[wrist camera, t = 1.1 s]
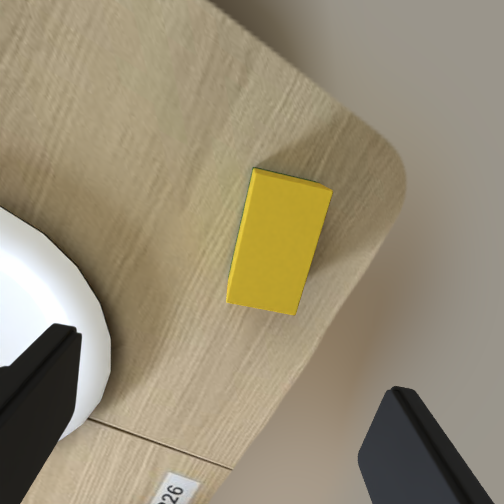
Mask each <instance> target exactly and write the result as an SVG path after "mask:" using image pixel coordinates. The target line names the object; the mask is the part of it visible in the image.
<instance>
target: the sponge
mask: <svg viewBox="0 0 504 504" xmlns="http://www.w3.org/2000/svg"><path fill="white" fill-rule="evenodd" d="M332 194H333V191H332V190H331V189H329V188H327V187H325V186H323V185H322V184H320V183H318V182H315V181H311V180H307V179H302V178H298V177H294V176H290V175H285V174H281V173H277V172H273V171H268V170H264V169H260V168H256V167H253V169H252V174H251V178H250V182H249V187H248V191H247V196H246V200H245V205H244V209H243V214H242V218H241V222H240V227H239V231H238V236H237V240H236V245H235V249H234V254H233V258H232V262H231V267H230V271H229V276H228V287H227V298H226V302H227V303H232V304H237V305H242V306H248V307H253V308H258V309H263V310H269V311H274V312H279V313H284V314H290V315H296V312H297V309H298V305H299V302H300V299H301V296H302V292H303V289H304V286H305V282H306V279H307V276H308V273H309V269H310V266H311V263H312V259H313V256H314V253H315V250H316V246H317V243H318V240H319V237H320V233H321V230H322V227H323V223H324V220H325V217H326V214H327V210H328V207H329V204H330V200H331V197H332Z"/></svg>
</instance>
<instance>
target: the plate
mask: <svg viewBox="0 0 504 504" xmlns="http://www.w3.org/2000/svg"><path fill="white" fill-rule="evenodd" d="M53 323H58V324H64V325H69V326H74V327H76V329H77V332H78V333H81V334H82V344H81V355H80V365H79V375H78V386H77V396H76V406H75V411H74V414H73V416H72V419H71V421H70V422H69V424H68V426H67V427H66V429H65V431H64V432H63V434H62V436H61V437H60V439H59V440H58V441H60V440H61V439H62V438H64V437H65V436H67V435H68V434H70V433H71V432H72V431H74V430H75V429H77V428H78V427H80V426H81V425H82V424H83V423H84V422H85V420H86V419H87V418H88V417H89V415H90V414H91V413H92V411H93V410H94V409H95V407H96V406H97V405H98V404H99V402H100V401H101V399H102V396H103V393H104V390H105V387H106V384H107V381H108V378H109V375H110V372H111V335H110V331H109V328H108V325H107V322H106V319H105V315H104V312H103V309H102V306H101V302H100V300H99V299H98V297H97V296H96V294H95V292H94V291H93V289H92V288H91V286H90V285H89V283H88V281H87V280H86V278H85V277H84V275H83V273H82V272H81V270H80V269H79V267H78V266H77V265H76V264H75V263H74V262H73V261H72V260H71V259H70V258H69V257H68V256H67V255H66V254H65V253H64V252H63V251H62V250H61V249H60V248H59V247H58V246H57V245H56V244H55V243H54V242H53V241H52V240H51V239H50V238H49V237H48V236H47V235H46V234H45V233H43V232H41V231H40V230H38V229H37V228H35V227H33V226H32V225H30V224H29V223H27V222H25V221H24V220H22V219H21V218H19V217H17V216H16V215H14V214H13V213H11V212H9V211H8V210H6V209H5V208H3V207H1V206H0V367H2V366H10V365H11V364H12V363H13V362H14V361H15V360H16V359H17V358H18V357H19V356H20V355H21V354H22V353H23V352H24V351H25V350H26V349H27V348H28V347H29V346H30V345H31V344H32V343H33V342H34V341H35V340H36V339H37V338H38V337H39V336H40V335H41V334H42V333H43V332H44V331H45V330H46V329H47V328H49V327H50V326H51V325H52V324H53Z"/></svg>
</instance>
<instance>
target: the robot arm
mask: <svg viewBox="0 0 504 504" xmlns="http://www.w3.org/2000/svg"><path fill="white" fill-rule="evenodd" d="M81 344H82V334H81V333H78V332H77V329H76V327H74V326H69V325H64V324H58V323H53V324H52V325H51V326H50V327H49V328H47V329H46V330H45V331H44V332H43V333H42V334H41V335H40V336H39V337H38V338H37V339H36V340H35V341H34V342H33V343H32V344H31V345H30V346H29V347H28V348H27V349H26V350H25V351H24V352H23V353H22V354H21V355H20V356H19V357H18V358H17V359H16V360H15V361H14V362H13V363H12V364H11V365H10V366H2V367H0V504H20V503H21V502H22V500H23V498H24V497H25V495H26V493H27V492H28V490H29V488H30V487H31V485H32V483H33V482H34V480H35V478H36V477H37V475H38V473H39V472H40V470H41V469H42V467H43V465H44V464H45V462H46V460H47V459H48V457H49V455H50V454H51V452H52V450H53V449H54V447H55V445H56V444H57V442H58V440H59V439H60V437H61V436H62V434H63V432H64V431H65V429H66V427H67V426H68V424H69V422H70V421H71V419H72V416H73V414H74V411H75V406H76V396H77V386H78V375H79V365H80V355H81ZM358 464H359V468H360V470H361V473H362V476H363V479H364V482H365V484H366V487H367V489H368V493H369V495H370V498H371V501H372V503H373V504H494V503H493V501H492V500H491V498H490V497H489V496H488V494H487V493H486V491H485V490H484V488H483V487H482V486H481V484H480V483H479V481H478V480H477V478H476V477H475V476H474V474H473V473H472V471H471V470H470V468H469V467H468V466H467V464H466V463H465V461H464V460H463V458H462V457H461V456H460V454H459V453H458V451H457V450H456V448H455V447H454V445H453V444H452V443H451V441H450V440H449V438H448V437H447V435H446V434H445V433H444V431H443V430H442V428H441V427H440V426H439V424H438V423H437V421H436V420H435V418H434V417H433V415H432V414H431V413H430V411H429V410H428V408H427V407H426V405H425V404H424V403H423V401H422V400H421V398H420V397H419V395H418V394H417V393H416V392H415V391H414V390H413V389H409V388H404V387H398V386H394V387H392V388H391V390H387V391H386V393H385V395H384V397H383V399H382V401H381V404H380V406H379V408H378V410H377V413H376V415H375V417H374V419H373V421H372V424H371V426H370V428H369V431H368V433H367V435H366V437H365V439H364V441H363V444H362V446H361V448H360V450H359V453H358Z"/></svg>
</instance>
